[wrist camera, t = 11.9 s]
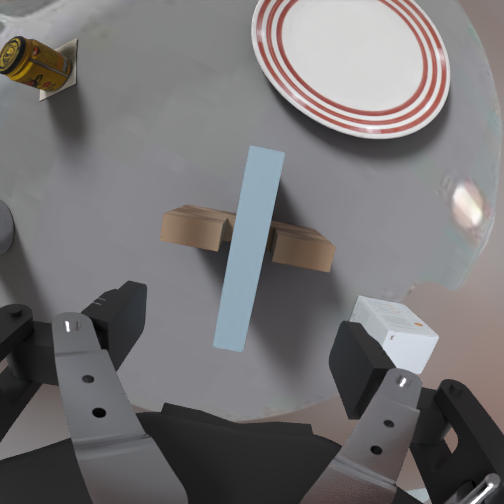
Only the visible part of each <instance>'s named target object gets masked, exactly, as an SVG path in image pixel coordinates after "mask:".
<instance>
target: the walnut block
mask: <svg viewBox="0 0 504 504" xmlns="http://www.w3.org/2000/svg"><path fill="white" fill-rule="evenodd" d="M235 220H236V213H230V212H225V211H219V210H214V209H208V208H203V207H197V206H192V205H185V206H182V207H180V208H177V209H174V210H172V211H169V212H167V213H164V214H163V221H162V228H161V236H160V241H166V242H171V243H176V244H181V245H186V246H191V247H197V248H202V249H207V250H212V251H218V250H219V248H220V246H221V244H222V242H223V241H228V242H231V241H232V235H233V230H234V225H235ZM265 249H269V250H270V254H271V259H272V262H275V263H281V264H286V265H291V266H297V267H302V268H308V269H313V270H318V271H324V272H330V268H331V264H332V261H333V257H334V253H335V249H336V247H335V246H334V245H333V244H332V243H331V242H330V241H328V240H327V239H326V238H325V237H324V236H322V235H321V234H320V233H319V232H317V231H316V230H315V229H311V228H306V227H301V226H296V225H292V224H287V223H282V222H277V221H272V220H271V223H270V228H269V233H268V238H267V242H266V247H265Z"/></svg>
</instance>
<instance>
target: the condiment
mask: <svg viewBox="0 0 504 504" xmlns="http://www.w3.org/2000/svg"><path fill="white" fill-rule="evenodd" d="M76 42H77V38H76V39H74V40H72V41H70V42H68V43H66V44H65V45H63V46H61V47H59V48H57V49H55V50H53V49H52V48H50V47H48V46H46V45H44V44H42V43H40V42H38V41H37V40H34V39H29V40H28V39H26V38H24V37H22V36H18V37H17V36H16V37H14V38H12V39H11V40H9V41H8V42H7V43H6V44H5V46H4V47H3V48H2V50H1V52H0V74H4V75H6V76H8V77H9V78H10V79H11V80H13V81H16V82H19V83H23V84H26V85H29V86H32V87H35V88H38V89H40V101H41V100H43V99H45V98H47V97H49V96H51V95H53V94H55V93H57V92H59V91H61V90H64V89H65V88H67V87H70V86H72V85H74V84H76V49H77V45H76ZM70 57H71V58H70Z"/></svg>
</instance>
